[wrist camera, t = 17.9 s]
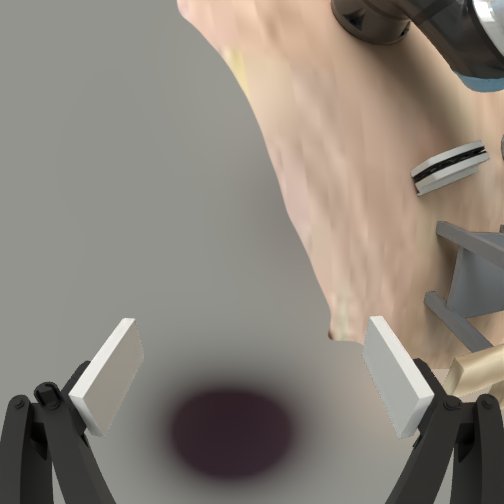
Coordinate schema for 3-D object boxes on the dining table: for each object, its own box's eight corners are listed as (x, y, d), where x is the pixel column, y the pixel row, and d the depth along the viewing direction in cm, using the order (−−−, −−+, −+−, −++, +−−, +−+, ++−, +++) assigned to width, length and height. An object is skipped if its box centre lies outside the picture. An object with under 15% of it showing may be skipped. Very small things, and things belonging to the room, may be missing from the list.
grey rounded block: (416, 197, 46) (440, 185, 36) (406, 173, 47) (427, 157, 37) (474, 173, 44) (501, 160, 34) (465, 151, 44) (490, 135, 35)
